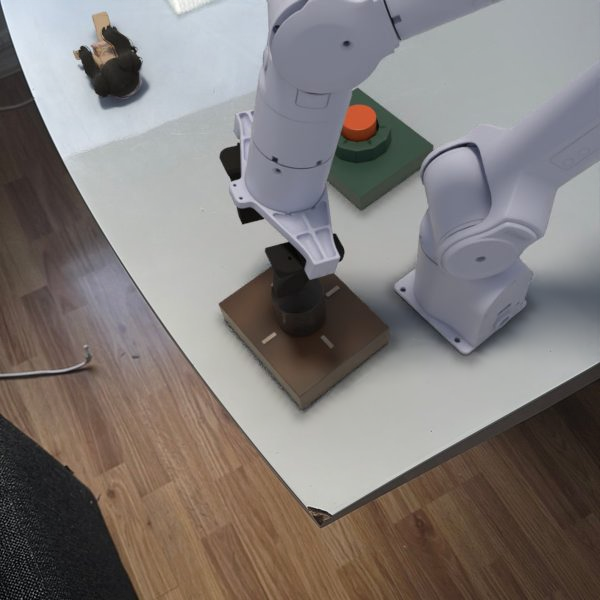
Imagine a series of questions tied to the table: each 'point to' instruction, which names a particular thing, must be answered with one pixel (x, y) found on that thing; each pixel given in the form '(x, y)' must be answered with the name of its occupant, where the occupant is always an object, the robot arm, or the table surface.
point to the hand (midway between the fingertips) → (269, 254)
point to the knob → (301, 309)
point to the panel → (306, 349)
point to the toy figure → (111, 61)
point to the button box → (376, 156)
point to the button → (359, 123)
